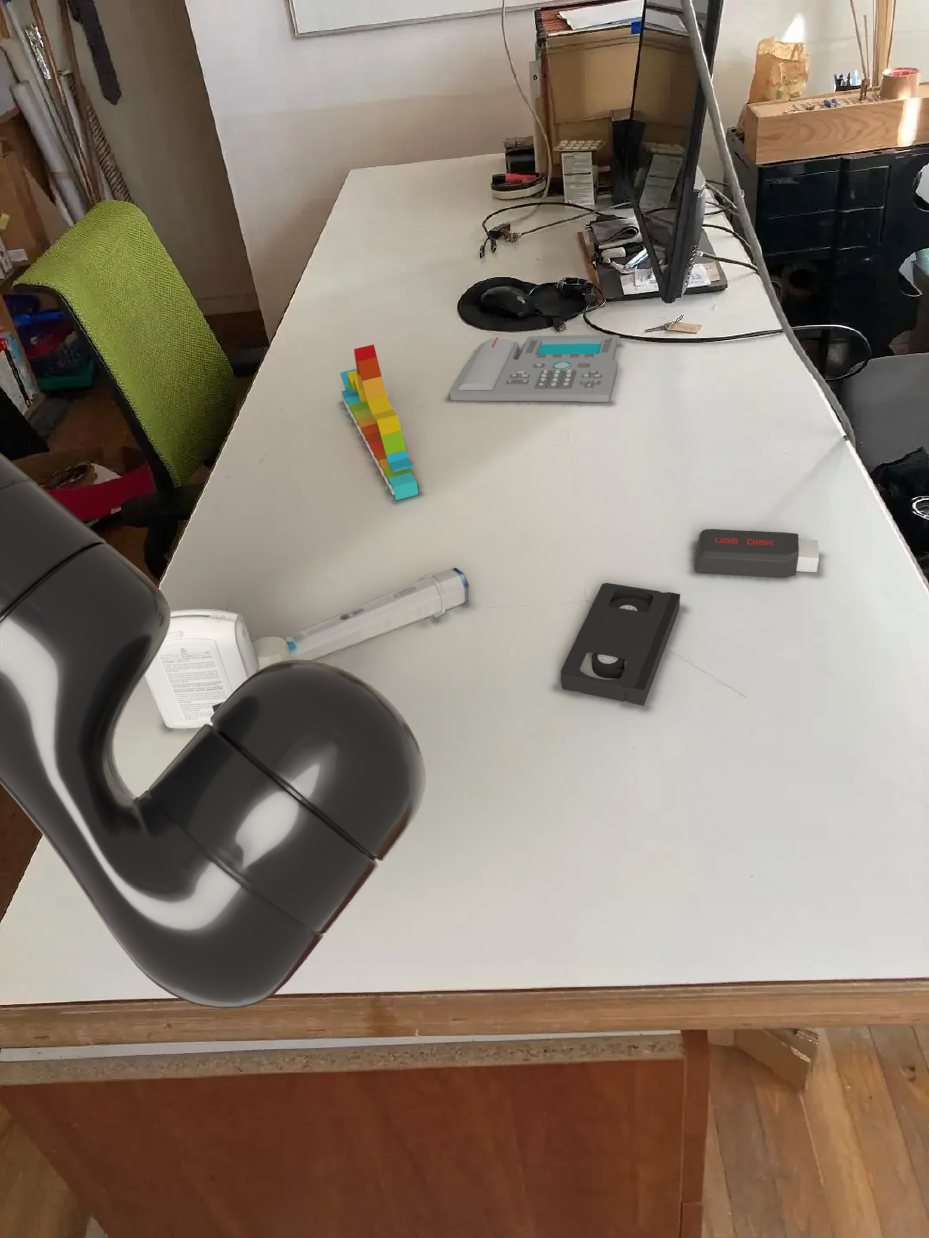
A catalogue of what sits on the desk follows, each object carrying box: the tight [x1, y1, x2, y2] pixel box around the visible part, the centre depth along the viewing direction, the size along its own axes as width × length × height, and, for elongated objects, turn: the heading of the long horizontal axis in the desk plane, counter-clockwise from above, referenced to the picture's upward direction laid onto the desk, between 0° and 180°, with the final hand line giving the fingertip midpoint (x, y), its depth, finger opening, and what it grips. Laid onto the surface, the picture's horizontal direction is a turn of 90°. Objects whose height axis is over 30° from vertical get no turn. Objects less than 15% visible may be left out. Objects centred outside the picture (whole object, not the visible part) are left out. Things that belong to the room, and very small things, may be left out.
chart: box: [339, 344, 419, 501], centre depth 122 cm, size 30×3×15 cm, turn 18°
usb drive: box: [695, 528, 820, 579], centre depth 97 cm, size 5×12×3 cm, turn 76°
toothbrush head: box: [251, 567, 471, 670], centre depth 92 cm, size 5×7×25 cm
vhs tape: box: [560, 582, 681, 707], centre depth 89 cm, size 14×8×2 cm, turn 157°
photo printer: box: [144, 608, 259, 729], centre depth 85 cm, size 10×4×12 cm, turn 90°
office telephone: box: [448, 334, 621, 403], centre depth 139 cm, size 23×3×20 cm
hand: (280, 802), depth 61 cm, fingers closed
